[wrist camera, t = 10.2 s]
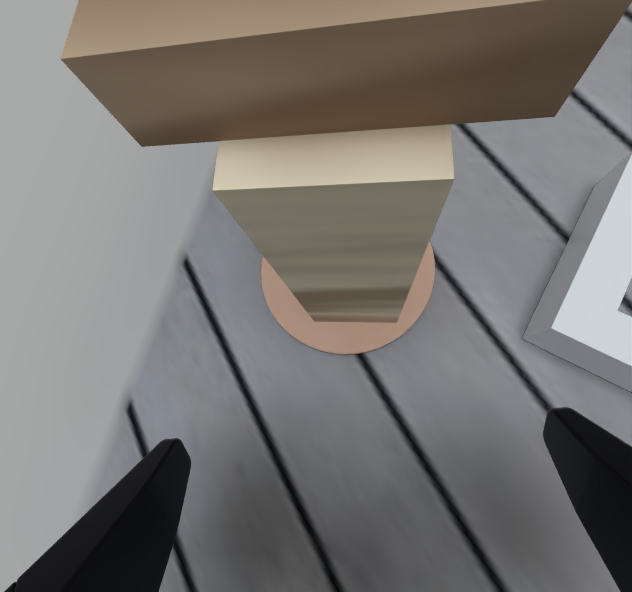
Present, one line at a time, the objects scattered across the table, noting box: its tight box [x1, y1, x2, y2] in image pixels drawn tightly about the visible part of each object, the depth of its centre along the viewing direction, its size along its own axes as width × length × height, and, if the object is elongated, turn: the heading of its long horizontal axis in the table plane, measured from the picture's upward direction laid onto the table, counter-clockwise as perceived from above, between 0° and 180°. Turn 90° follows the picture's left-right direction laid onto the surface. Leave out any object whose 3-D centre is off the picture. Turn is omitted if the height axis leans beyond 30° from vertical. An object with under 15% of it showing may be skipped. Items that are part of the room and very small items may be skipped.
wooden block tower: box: [61, 0, 632, 323], centre depth 12 cm, size 4×8×15 cm, turn 88°
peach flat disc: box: [261, 241, 435, 355], centre depth 20 cm, size 10×10×1 cm
